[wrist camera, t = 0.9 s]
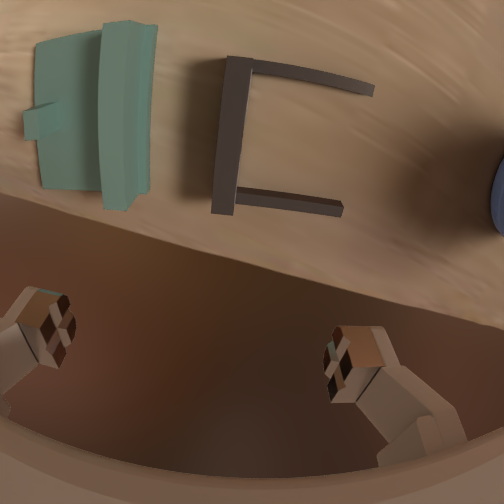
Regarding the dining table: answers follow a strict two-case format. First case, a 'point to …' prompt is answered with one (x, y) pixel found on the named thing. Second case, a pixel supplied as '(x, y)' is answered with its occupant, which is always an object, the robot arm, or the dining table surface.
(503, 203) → the water jug
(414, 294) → the dining table surface
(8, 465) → the robot arm
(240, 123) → the glasses frame
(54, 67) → the display stand
